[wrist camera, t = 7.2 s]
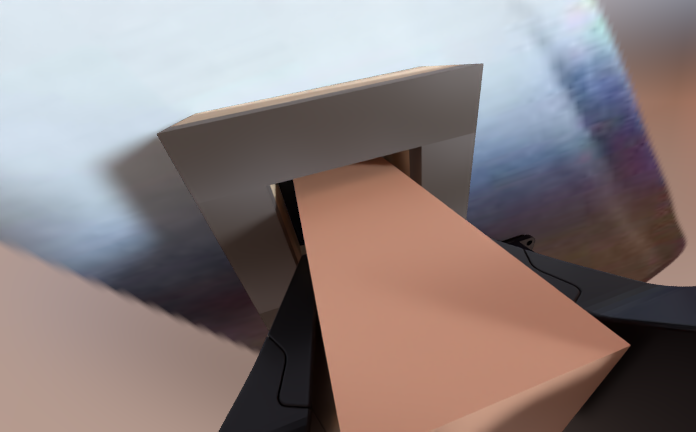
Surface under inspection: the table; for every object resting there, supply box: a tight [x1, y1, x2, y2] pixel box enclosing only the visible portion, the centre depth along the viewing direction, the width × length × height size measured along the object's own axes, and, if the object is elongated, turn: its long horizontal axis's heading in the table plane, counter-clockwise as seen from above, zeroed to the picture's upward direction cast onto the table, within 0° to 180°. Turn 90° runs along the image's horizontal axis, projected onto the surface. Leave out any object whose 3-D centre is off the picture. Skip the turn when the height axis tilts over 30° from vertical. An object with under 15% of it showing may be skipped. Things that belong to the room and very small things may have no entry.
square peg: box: [293, 157, 631, 432], centre depth 8 cm, size 4×4×10 cm
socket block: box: [157, 64, 483, 331], centre depth 12 cm, size 10×10×4 cm
